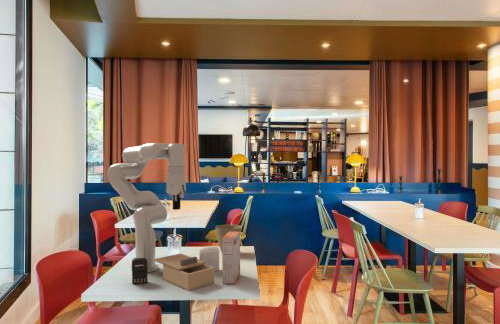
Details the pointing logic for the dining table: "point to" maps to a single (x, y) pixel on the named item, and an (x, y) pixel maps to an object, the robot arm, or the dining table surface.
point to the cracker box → (231, 257)
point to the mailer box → (189, 276)
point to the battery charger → (139, 270)
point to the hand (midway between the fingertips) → (176, 209)
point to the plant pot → (225, 232)
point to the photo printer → (210, 256)
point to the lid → (179, 261)
